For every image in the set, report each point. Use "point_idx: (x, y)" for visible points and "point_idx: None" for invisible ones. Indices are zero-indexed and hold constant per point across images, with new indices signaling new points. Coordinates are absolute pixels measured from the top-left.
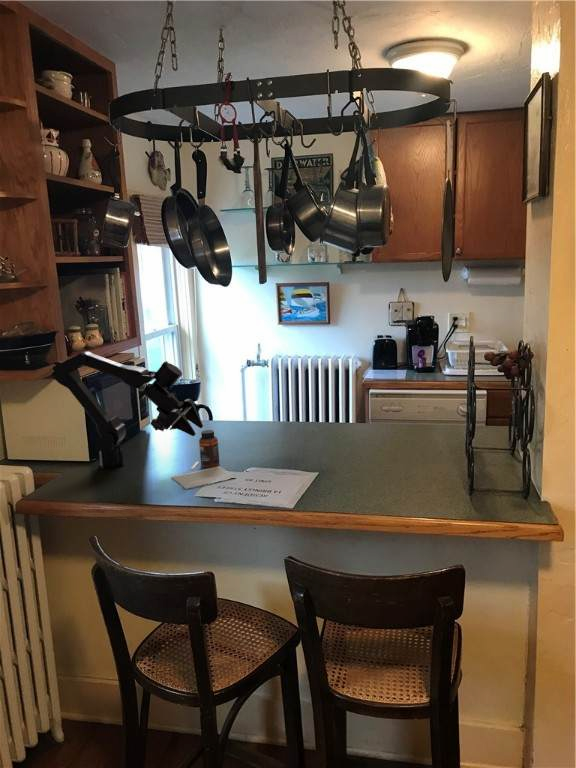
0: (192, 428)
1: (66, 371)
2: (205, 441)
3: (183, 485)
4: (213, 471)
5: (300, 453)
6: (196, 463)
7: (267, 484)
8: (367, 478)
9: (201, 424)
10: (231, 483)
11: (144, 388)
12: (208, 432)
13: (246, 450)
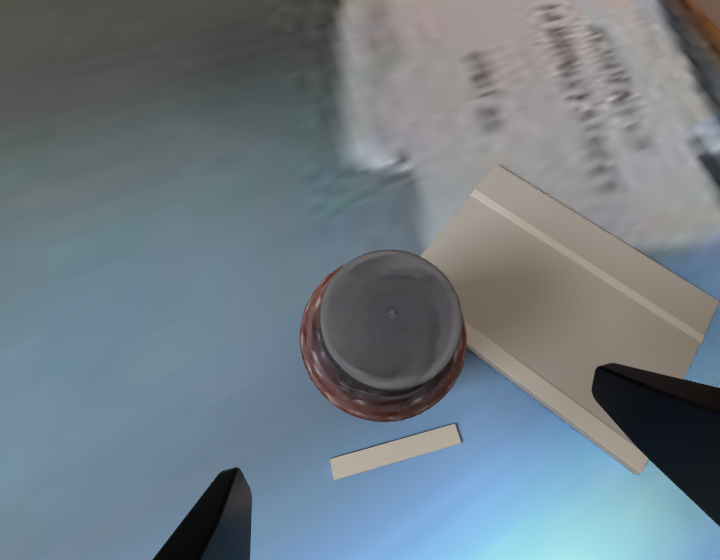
0: (696, 395)
1: None
2: (462, 316)
3: (697, 332)
4: (471, 284)
5: (140, 53)
6: (369, 457)
7: (505, 53)
8: None
9: (231, 493)
10: (552, 161)
11: None
12: (429, 282)
13: (93, 278)
